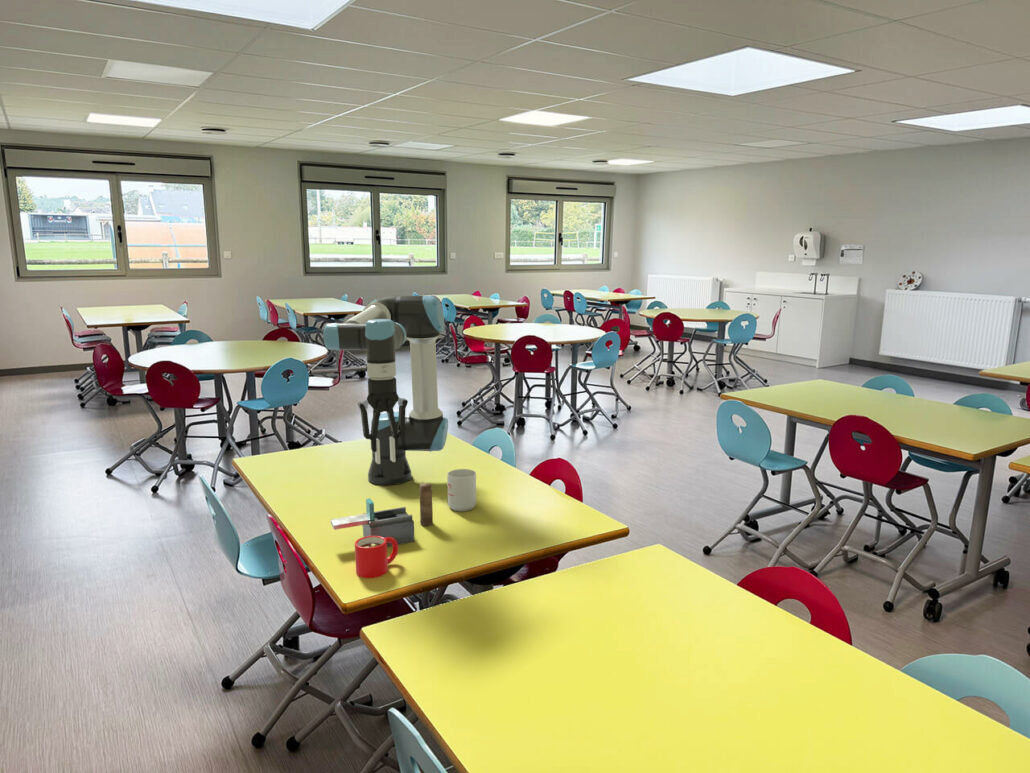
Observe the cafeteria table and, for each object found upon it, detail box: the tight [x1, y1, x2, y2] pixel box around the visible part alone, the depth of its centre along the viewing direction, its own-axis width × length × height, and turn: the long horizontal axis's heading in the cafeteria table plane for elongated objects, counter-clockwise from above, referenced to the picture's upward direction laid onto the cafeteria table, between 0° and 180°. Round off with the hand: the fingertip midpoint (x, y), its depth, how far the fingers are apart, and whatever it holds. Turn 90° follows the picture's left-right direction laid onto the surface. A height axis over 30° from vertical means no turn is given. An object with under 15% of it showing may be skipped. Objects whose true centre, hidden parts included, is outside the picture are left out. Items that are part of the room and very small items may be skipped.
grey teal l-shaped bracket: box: [330, 498, 375, 531], centre depth 190 cm, size 5×11×6 cm, turn 115°
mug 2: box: [446, 468, 477, 512], centre depth 220 cm, size 12×9×11 cm
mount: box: [362, 506, 415, 548], centre depth 195 cm, size 10×12×7 cm
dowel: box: [418, 482, 434, 527], centre depth 205 cm, size 4×4×12 cm
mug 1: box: [354, 536, 399, 579], centre depth 177 cm, size 8×12×8 cm, turn 138°
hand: (385, 461), depth 192 cm, fingers open, 3 cm apart
